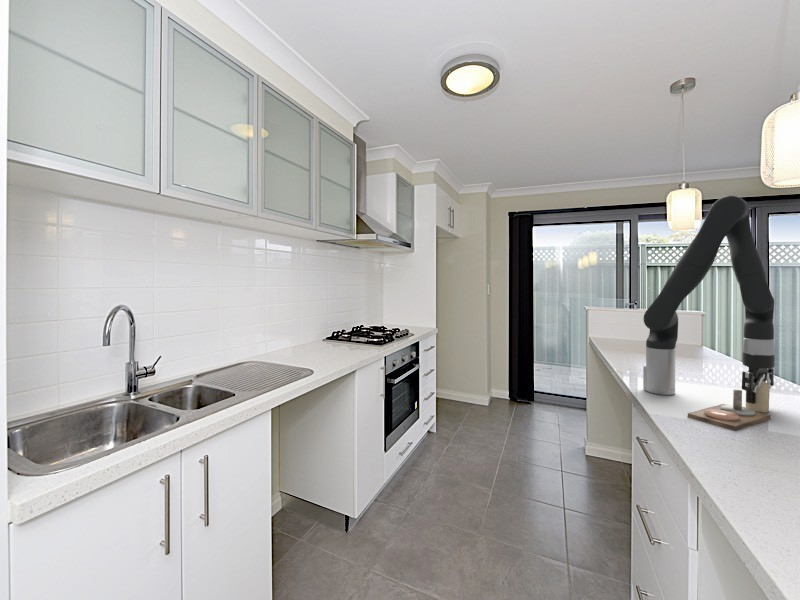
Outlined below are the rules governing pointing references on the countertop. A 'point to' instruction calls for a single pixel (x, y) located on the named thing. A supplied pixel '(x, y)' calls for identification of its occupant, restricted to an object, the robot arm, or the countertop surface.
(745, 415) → the board
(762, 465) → the countertop surface
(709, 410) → the pad
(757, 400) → the candle
